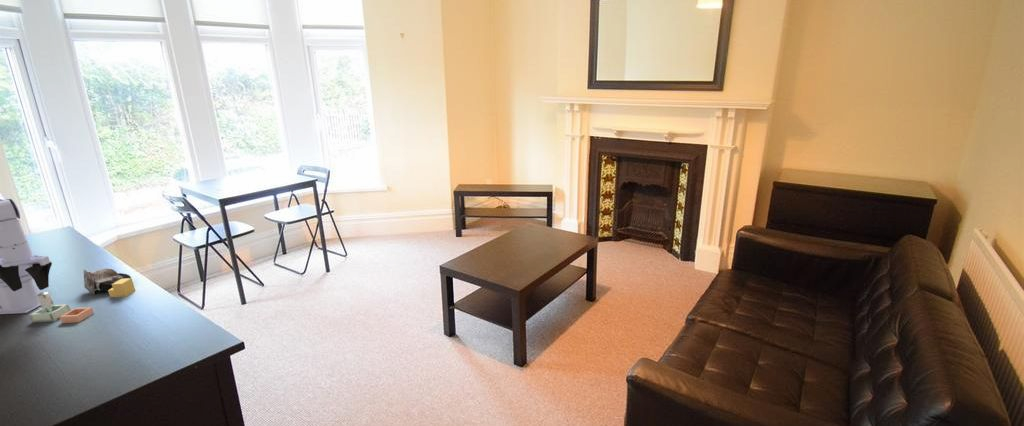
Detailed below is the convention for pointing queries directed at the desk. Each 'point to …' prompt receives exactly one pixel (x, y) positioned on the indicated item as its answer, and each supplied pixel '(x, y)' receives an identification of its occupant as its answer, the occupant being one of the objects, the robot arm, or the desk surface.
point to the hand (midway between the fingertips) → (31, 288)
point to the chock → (122, 288)
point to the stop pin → (46, 302)
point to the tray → (50, 314)
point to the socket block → (76, 315)
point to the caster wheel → (102, 279)
